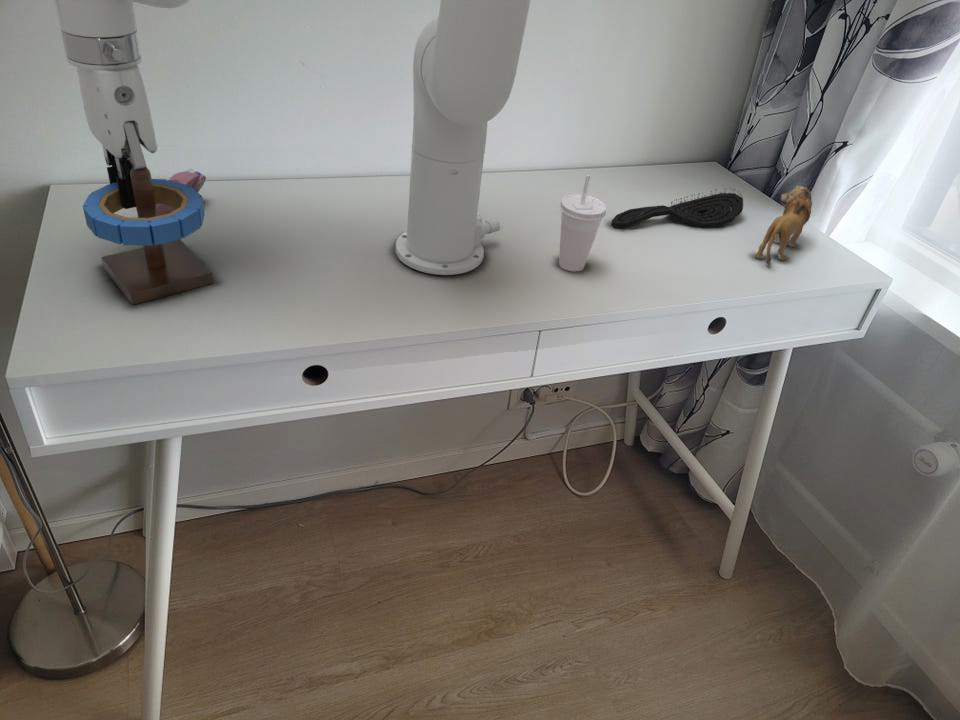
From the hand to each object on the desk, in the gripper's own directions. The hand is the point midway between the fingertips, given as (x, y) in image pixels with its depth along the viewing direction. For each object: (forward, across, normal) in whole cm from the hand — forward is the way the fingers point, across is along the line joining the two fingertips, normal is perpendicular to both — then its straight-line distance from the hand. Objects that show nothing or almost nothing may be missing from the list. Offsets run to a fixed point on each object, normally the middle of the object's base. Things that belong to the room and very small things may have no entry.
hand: (131, 199), depth 93 cm
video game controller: (+8, +11, -9) cm, 16 cm away
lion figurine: (+8, -43, -84) cm, 95 cm away
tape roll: (0, -5, 0) cm, 5 cm away
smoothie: (+8, -30, -50) cm, 59 cm away
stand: (+8, -5, 0) cm, 10 cm away
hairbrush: (+8, -28, -77) cm, 83 cm away
